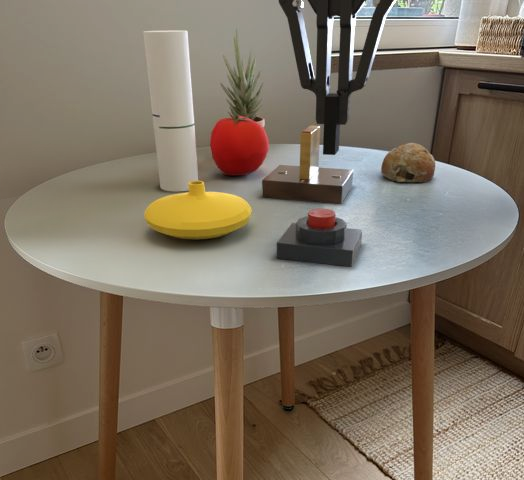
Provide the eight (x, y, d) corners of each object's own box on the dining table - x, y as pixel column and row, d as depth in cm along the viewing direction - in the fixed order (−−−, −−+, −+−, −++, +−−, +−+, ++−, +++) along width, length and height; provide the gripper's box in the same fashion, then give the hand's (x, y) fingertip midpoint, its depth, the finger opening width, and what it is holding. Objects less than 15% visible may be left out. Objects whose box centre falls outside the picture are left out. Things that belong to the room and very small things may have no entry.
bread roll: (378, 198, 105) (383, 164, 99) (380, 163, 111) (384, 129, 104) (431, 200, 104) (439, 166, 97) (430, 165, 109) (438, 130, 103)
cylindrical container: (183, 178, 106) (170, 30, 92) (206, 185, 101) (196, 30, 88) (152, 186, 101) (134, 31, 88) (175, 193, 97) (160, 32, 84)
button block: (361, 244, 76) (363, 216, 74) (351, 266, 69) (354, 237, 67) (291, 237, 78) (292, 210, 76) (276, 258, 72) (276, 229, 70)
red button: (337, 222, 73) (338, 209, 72) (331, 231, 70) (332, 218, 69) (311, 220, 74) (311, 207, 73) (304, 228, 71) (305, 215, 70)
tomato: (225, 164, 115) (223, 107, 109) (276, 169, 111) (277, 110, 105) (200, 179, 105) (195, 117, 99) (254, 184, 102) (253, 121, 96)
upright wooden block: (308, 169, 99) (310, 123, 95) (318, 169, 99) (320, 124, 94) (299, 179, 93) (300, 131, 89) (309, 179, 93) (311, 132, 89)
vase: (272, 235, 79) (272, 187, 75) (173, 259, 72) (167, 206, 68) (221, 207, 90) (218, 164, 86) (130, 225, 83) (124, 178, 79)
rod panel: (352, 186, 100) (353, 168, 99) (341, 204, 91) (342, 185, 90) (279, 180, 104) (279, 163, 102) (262, 197, 95) (261, 179, 93)
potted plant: (226, 148, 128) (221, 26, 115) (266, 149, 127) (266, 26, 114) (219, 158, 119) (213, 28, 106) (262, 159, 118) (261, 28, 105)
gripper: (268, -91, 53) (272, 156, 66) (404, -102, 50) (380, 162, 63) (288, -82, 59) (288, 143, 72) (410, -91, 56) (387, 147, 69)
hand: (330, 152), depth 67 cm, fingers closed
